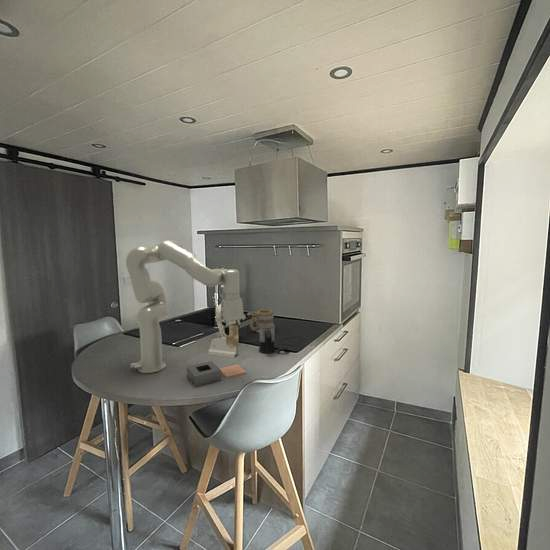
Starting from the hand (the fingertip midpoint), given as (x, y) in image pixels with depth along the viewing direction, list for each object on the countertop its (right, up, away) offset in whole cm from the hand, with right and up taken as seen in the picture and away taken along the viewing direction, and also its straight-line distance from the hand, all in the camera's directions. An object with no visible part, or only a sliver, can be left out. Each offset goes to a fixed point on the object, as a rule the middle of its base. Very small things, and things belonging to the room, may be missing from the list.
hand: (232, 333), depth 143 cm
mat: (0, -19, +2) cm, 19 cm away
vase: (-9, -14, +47) cm, 50 cm away
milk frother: (+20, -16, +30) cm, 39 cm away
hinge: (-8, -17, +26) cm, 32 cm away
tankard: (+10, -12, +66) cm, 68 cm away
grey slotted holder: (-12, -20, -5) cm, 24 cm away
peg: (0, -6, +1) cm, 6 cm away
